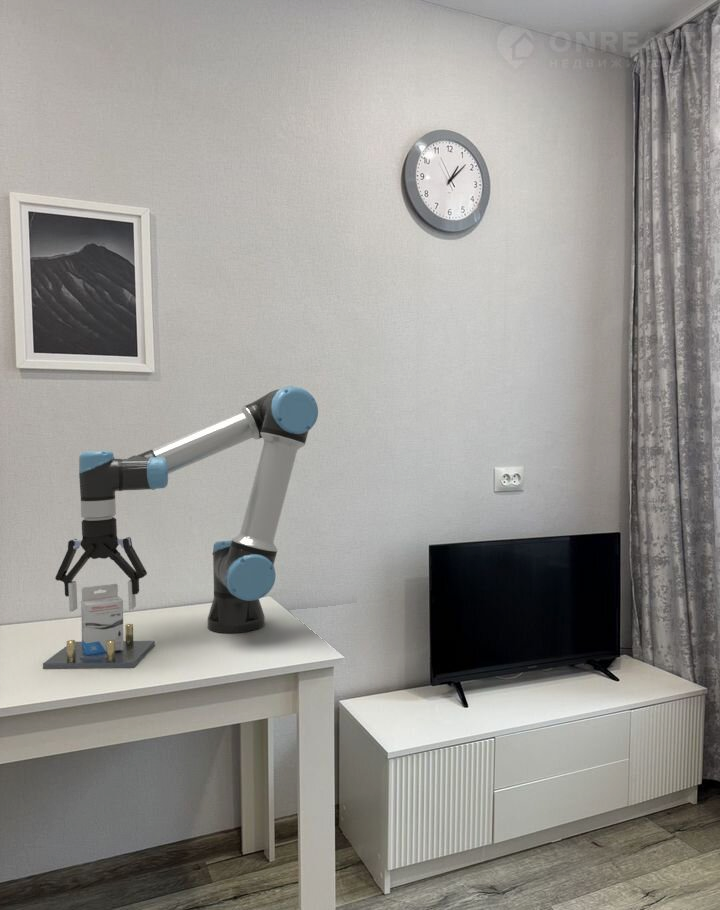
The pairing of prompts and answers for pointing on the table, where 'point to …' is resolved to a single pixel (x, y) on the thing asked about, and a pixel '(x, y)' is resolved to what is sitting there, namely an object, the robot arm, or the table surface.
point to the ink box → (101, 619)
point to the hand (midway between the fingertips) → (103, 609)
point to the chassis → (101, 654)
